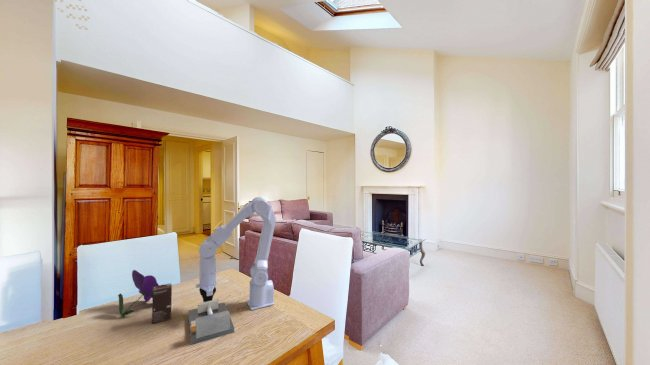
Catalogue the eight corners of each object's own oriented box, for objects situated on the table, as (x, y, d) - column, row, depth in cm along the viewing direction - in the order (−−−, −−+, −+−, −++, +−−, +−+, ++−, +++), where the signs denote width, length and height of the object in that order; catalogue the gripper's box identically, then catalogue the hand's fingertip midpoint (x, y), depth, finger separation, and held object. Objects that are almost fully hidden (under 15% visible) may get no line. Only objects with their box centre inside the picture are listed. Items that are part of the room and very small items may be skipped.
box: (152, 324, 89) (152, 290, 89) (152, 318, 93) (152, 286, 93) (171, 319, 93) (171, 287, 92) (171, 313, 96) (171, 282, 96)
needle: (190, 329, 84) (190, 321, 84) (215, 322, 88) (215, 315, 88) (190, 331, 83) (190, 323, 83) (215, 324, 87) (215, 317, 87)
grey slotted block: (197, 311, 95) (197, 303, 95) (217, 306, 98) (217, 299, 98) (199, 322, 88) (199, 314, 88) (221, 317, 91) (221, 309, 91)
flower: (144, 330, 94) (172, 299, 105) (123, 304, 87) (156, 273, 98) (116, 323, 99) (146, 293, 110) (95, 297, 92) (129, 269, 103)
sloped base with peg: (188, 314, 96) (188, 297, 96) (224, 305, 103) (224, 290, 103) (190, 344, 79) (191, 324, 79) (234, 332, 86) (234, 313, 86)
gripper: (194, 267, 102) (194, 300, 102) (197, 280, 89) (197, 318, 90) (213, 264, 105) (213, 296, 106) (219, 277, 93) (218, 313, 93)
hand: (207, 306), depth 98 cm, fingers closed
